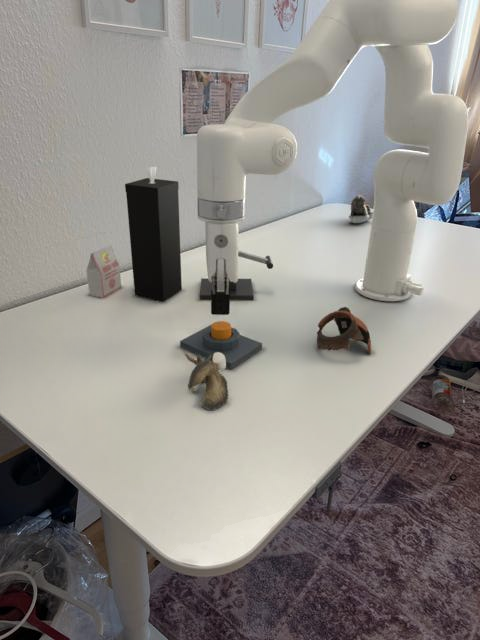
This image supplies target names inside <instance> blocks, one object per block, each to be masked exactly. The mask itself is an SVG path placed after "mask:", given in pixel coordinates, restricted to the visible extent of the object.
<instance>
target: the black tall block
mask: <svg viewBox="0 0 480 640" xmlns="http://www.w3.org/2000/svg"><path fill="white" fill-rule="evenodd" d="M146 170H147V171H146V172H147V175H148V177H146V178H142V179H138V180H134V181H131V182H127V183H125V184H124V189H125V194H126V205H127V206H126V208H127V216H128V230H129V242H130V253H131V267H132V278H133V279H132V280H133V288H134V289H133V291H134V296H136V297H139V298H143V299H148V300H152V301H156V302H161V303H164V302H166V301H168V300H169V299H170V298H172V297H174V296H175V295H176V294H178V293H179V292H181V291H182V290H183V286H182V259H181V233H180V232H181V231H180V230H181V229H180V206H179V205H180V204H179V202H180V201H179V187H180V186H179V181H176V180H168V179H161V178H160V179H158V178H156V175H157V166H146Z"/></svg>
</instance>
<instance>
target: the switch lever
mask: <svg viewBox="0 0 480 640" xmlns="http://www.w3.org/2000/svg"><path fill="white" fill-rule="evenodd" d="M238 258H242V259H246V260H250V261H253V262H257V263H260V264H264V265H266V268H267V269H268V270H272V269H273V268H274V263H273V259H272V257H271V255H266V256H265V257H263V256H259V255H256V254H252V253H248V252H246V251H241V250H238Z"/></svg>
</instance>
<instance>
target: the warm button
mask: <svg viewBox="0 0 480 640" xmlns="http://www.w3.org/2000/svg"><path fill="white" fill-rule="evenodd" d="M211 324H212V325H211ZM211 324H210V325H211V336H212V338H214V339H220V340H224V339H228V338H230V337H231V327H232V324H231V323H230V322H228V321H224V320H218V321H214V322H213V323H211Z"/></svg>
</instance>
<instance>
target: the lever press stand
mask: <svg viewBox="0 0 480 640" xmlns="http://www.w3.org/2000/svg"><path fill="white" fill-rule="evenodd" d="M211 290H213V282H212V283H211V282H210V281H209V280H208V277H207V278H205V277H204V278H203V277H201V278H200V288H199V301H211ZM229 290H230V301H254V288H253V282H252V278H238V281H237V282H236V283H234V282H230V279H229Z"/></svg>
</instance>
